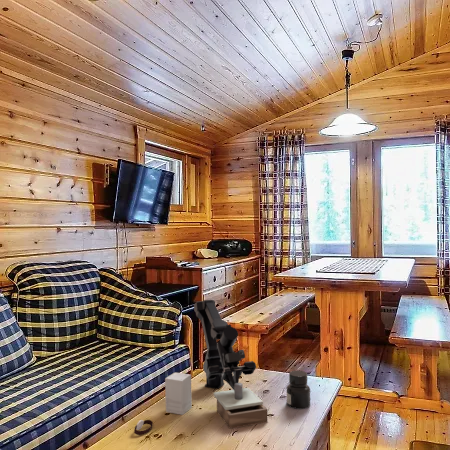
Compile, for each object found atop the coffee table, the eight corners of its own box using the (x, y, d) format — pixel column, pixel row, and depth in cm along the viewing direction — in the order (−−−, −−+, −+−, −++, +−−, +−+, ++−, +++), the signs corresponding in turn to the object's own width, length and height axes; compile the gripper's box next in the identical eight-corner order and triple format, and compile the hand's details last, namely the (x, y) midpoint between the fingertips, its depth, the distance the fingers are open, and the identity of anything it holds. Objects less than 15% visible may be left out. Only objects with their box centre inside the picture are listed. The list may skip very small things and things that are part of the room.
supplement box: (192, 407, 171) (191, 374, 170) (182, 415, 164) (182, 380, 164) (175, 404, 174) (175, 371, 173) (165, 412, 167) (164, 378, 167)
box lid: (213, 395, 170) (213, 379, 170) (248, 390, 175) (248, 374, 175) (225, 410, 157) (225, 393, 157) (262, 404, 162) (262, 387, 162)
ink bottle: (291, 398, 179) (291, 367, 178) (313, 401, 175) (313, 371, 175) (283, 407, 170) (282, 375, 170) (306, 411, 166) (306, 379, 166)
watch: (145, 425, 157) (145, 414, 157) (156, 428, 155) (156, 417, 155) (130, 434, 150) (130, 423, 150) (141, 437, 148) (141, 426, 148)
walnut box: (216, 411, 167) (216, 399, 167) (252, 406, 171) (252, 394, 171) (229, 428, 154) (229, 415, 153) (267, 422, 158) (267, 409, 158)
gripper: (207, 345, 168) (217, 384, 158) (254, 340, 174) (266, 378, 164) (202, 360, 176) (210, 398, 166) (246, 354, 182) (257, 392, 172)
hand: (236, 391), depth 167 cm, fingers closed, pressing on box lid
